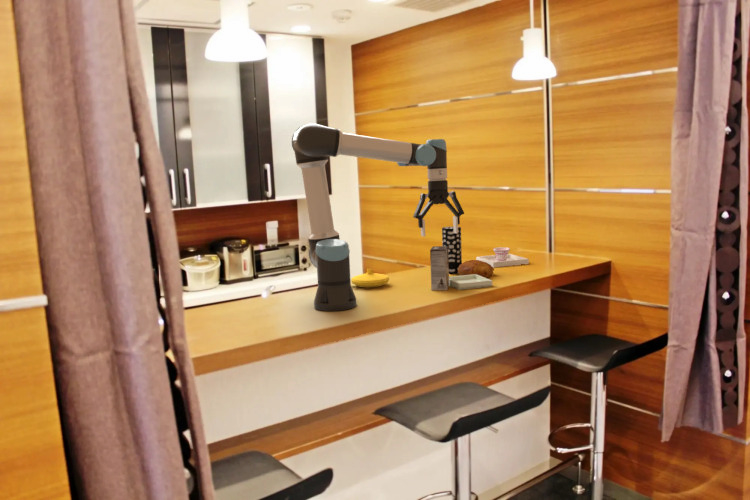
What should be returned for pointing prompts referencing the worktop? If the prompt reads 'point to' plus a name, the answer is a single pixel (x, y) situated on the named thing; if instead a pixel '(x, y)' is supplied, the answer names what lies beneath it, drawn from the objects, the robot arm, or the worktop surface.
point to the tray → (469, 282)
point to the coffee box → (439, 268)
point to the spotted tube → (452, 248)
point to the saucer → (516, 261)
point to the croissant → (476, 268)
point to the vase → (370, 279)
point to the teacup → (501, 254)
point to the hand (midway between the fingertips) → (439, 234)
